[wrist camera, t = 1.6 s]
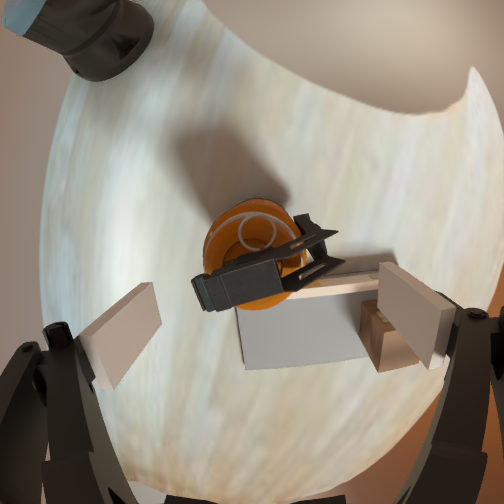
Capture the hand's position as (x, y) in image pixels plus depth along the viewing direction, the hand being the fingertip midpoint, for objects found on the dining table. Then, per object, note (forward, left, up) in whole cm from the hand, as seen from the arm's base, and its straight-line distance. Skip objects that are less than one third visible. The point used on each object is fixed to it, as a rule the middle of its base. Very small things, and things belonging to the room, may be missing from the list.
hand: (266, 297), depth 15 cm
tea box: (+14, +15, -20) cm, 29 cm away
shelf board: (+14, +7, -22) cm, 26 cm away
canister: (0, 0, -22) cm, 22 cm away
